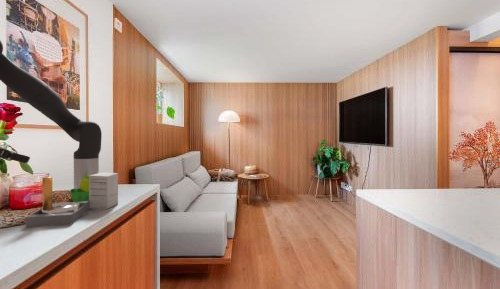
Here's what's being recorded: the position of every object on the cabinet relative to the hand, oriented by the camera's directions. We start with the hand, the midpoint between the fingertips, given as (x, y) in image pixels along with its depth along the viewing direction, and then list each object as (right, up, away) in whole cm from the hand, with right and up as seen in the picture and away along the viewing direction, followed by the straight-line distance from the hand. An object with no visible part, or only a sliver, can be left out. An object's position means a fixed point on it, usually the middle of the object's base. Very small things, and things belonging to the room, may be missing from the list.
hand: (28, 160), depth 77 cm
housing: (+6, -19, +5) cm, 21 cm away
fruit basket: (+3, -19, +24) cm, 31 cm away
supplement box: (+13, -19, +19) cm, 30 cm away
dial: (+6, -18, +5) cm, 19 cm away
